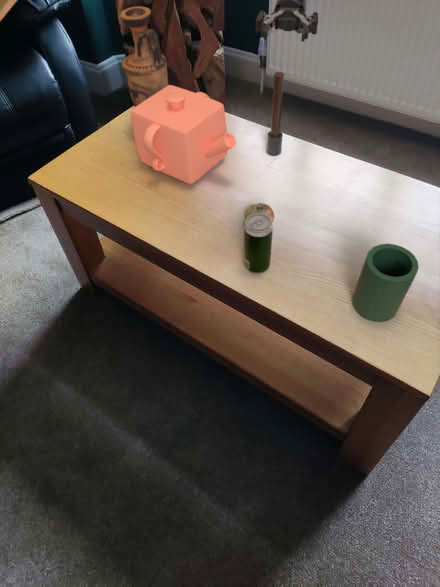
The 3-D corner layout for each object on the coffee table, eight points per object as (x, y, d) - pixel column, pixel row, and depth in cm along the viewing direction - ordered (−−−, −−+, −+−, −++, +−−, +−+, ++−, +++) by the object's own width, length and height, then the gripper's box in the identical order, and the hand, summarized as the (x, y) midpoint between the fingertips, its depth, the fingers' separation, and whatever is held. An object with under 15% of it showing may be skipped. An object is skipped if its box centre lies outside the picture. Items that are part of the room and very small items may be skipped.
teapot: (260, 161, 110) (263, 93, 95) (206, 211, 99) (200, 143, 85) (185, 131, 119) (177, 65, 105) (128, 173, 109) (111, 107, 95)
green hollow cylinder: (378, 280, 85) (395, 237, 76) (407, 311, 80) (429, 269, 71) (343, 296, 83) (356, 254, 74) (370, 328, 78) (388, 288, 69)
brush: (276, 145, 114) (282, 68, 98) (284, 153, 111) (290, 75, 95) (263, 149, 113) (267, 72, 97) (271, 157, 110) (276, 79, 95)
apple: (268, 244, 92) (269, 223, 88) (238, 228, 95) (238, 208, 91) (283, 228, 95) (285, 207, 90) (254, 213, 98) (254, 193, 93)
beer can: (254, 279, 87) (256, 237, 77) (238, 263, 89) (238, 220, 80) (275, 266, 88) (279, 224, 79) (258, 251, 91) (260, 208, 81)
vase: (129, 137, 119) (100, 16, 95) (154, 119, 124) (133, -1, 100) (159, 150, 114) (137, 26, 91) (184, 130, 120) (169, 8, 96)
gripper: (262, -11, 104) (253, 16, 95) (322, -10, 102) (318, 18, 93) (261, 23, 110) (252, 52, 101) (317, 25, 108) (314, 55, 99)
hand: (284, 36), depth 97 cm, fingers open, 8 cm apart
